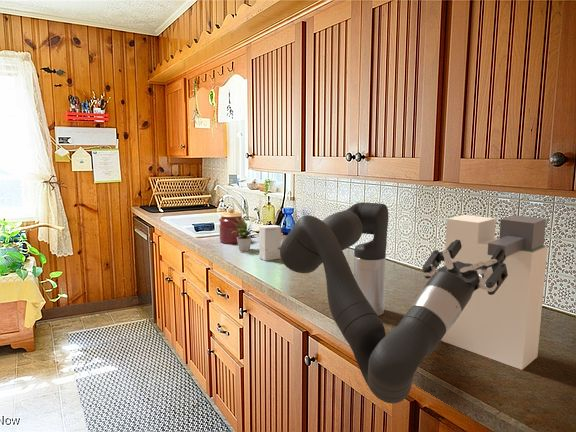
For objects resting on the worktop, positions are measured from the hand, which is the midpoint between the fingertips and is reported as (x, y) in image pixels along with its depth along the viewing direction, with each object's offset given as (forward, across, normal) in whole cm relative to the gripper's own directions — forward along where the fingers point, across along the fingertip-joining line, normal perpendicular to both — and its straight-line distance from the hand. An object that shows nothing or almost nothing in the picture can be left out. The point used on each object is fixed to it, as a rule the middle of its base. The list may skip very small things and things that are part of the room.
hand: (479, 246), depth 85 cm
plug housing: (+12, 0, +10) cm, 16 cm away
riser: (+3, +6, +36) cm, 37 cm away
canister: (+21, +151, +47) cm, 160 cm away
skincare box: (+15, +110, +44) cm, 119 cm away
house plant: (+15, +132, +44) cm, 140 cm away
